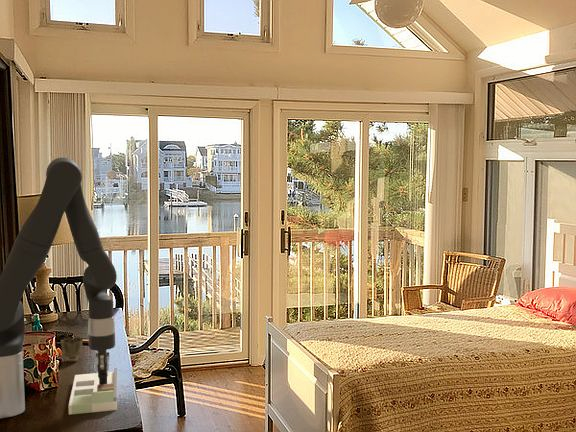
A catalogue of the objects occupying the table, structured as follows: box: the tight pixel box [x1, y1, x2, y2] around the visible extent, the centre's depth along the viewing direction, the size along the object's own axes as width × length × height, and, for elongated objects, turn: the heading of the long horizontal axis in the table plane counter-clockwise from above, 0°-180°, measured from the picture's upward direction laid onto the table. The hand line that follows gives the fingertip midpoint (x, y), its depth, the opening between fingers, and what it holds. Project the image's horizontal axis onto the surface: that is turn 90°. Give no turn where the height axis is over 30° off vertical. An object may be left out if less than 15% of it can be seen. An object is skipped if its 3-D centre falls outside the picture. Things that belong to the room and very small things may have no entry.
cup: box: [60, 336, 84, 363], centre depth 230 cm, size 8×7×8 cm
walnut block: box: [97, 383, 114, 392], centre depth 187 cm, size 4×4×3 cm
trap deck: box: [68, 367, 118, 415], centre depth 195 cm, size 28×13×6 cm, turn 15°
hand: (103, 389), depth 191 cm, fingers closed
